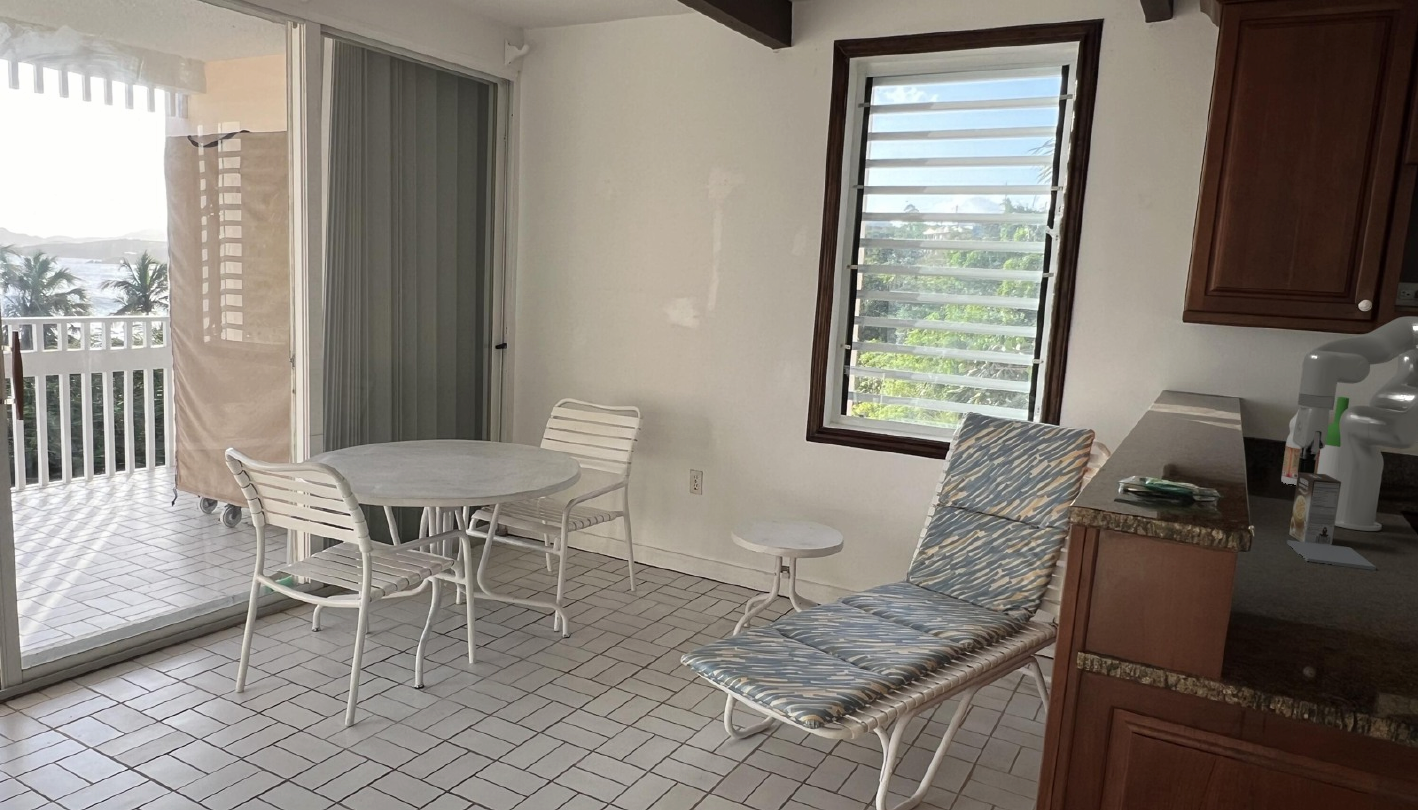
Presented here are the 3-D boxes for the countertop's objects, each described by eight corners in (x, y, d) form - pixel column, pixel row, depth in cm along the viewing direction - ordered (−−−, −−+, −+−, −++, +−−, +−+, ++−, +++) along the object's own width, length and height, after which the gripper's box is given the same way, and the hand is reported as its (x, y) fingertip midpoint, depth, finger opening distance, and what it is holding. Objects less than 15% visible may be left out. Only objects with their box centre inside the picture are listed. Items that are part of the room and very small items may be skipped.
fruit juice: (1273, 481, 294) (1285, 395, 290) (1297, 481, 296) (1309, 396, 292) (1298, 487, 285) (1310, 399, 281) (1322, 487, 287) (1335, 400, 283)
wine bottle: (1351, 498, 273) (1365, 399, 269) (1325, 497, 273) (1339, 398, 269) (1333, 492, 281) (1347, 396, 277) (1308, 491, 281) (1322, 395, 277)
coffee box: (1287, 534, 227) (1296, 471, 225) (1316, 536, 226) (1325, 473, 223) (1303, 544, 218) (1313, 479, 216) (1333, 547, 217) (1343, 481, 214)
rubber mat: (1286, 543, 218) (1287, 540, 218) (1349, 550, 214) (1350, 547, 214) (1307, 562, 203) (1307, 558, 203) (1375, 570, 199) (1375, 566, 199)
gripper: (1290, 397, 235) (1280, 467, 237) (1307, 404, 221) (1297, 478, 223) (1323, 400, 232) (1313, 470, 235) (1343, 407, 218) (1332, 481, 221)
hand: (1305, 474), depth 229 cm, fingers closed
